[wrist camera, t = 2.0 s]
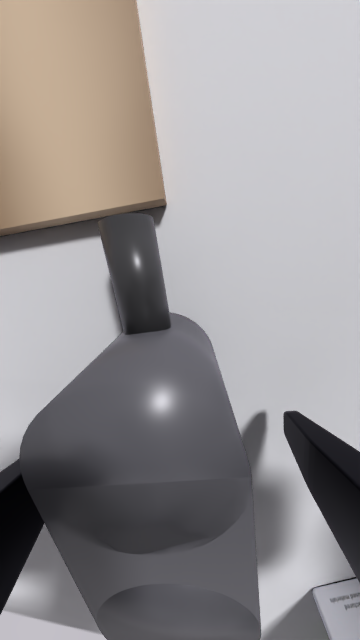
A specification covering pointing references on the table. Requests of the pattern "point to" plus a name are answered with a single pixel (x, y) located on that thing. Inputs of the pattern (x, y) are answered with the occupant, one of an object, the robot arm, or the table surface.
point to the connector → (149, 469)
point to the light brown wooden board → (74, 114)
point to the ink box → (340, 609)
